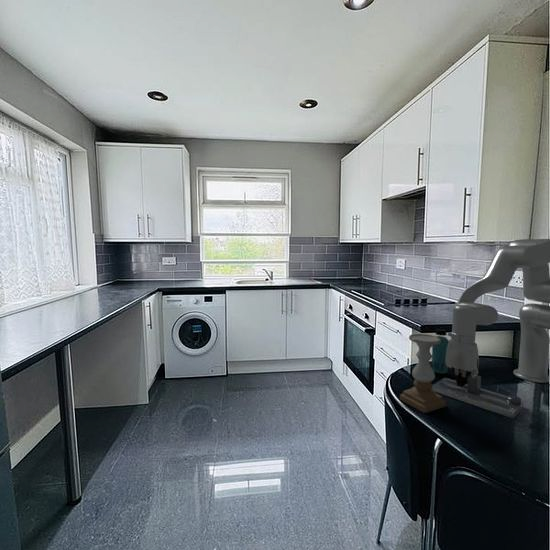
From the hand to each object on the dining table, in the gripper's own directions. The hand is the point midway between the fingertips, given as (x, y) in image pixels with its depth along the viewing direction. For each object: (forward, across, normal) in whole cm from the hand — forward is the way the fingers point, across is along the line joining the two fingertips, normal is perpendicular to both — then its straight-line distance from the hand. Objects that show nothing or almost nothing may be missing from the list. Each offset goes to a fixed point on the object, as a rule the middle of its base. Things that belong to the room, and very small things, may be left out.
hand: (460, 385), depth 118 cm
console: (+3, +5, 0) cm, 6 cm away
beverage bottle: (+4, -13, +13) cm, 19 cm away
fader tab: (+1, +4, 0) cm, 5 cm away
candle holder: (+4, -6, -18) cm, 19 cm away
